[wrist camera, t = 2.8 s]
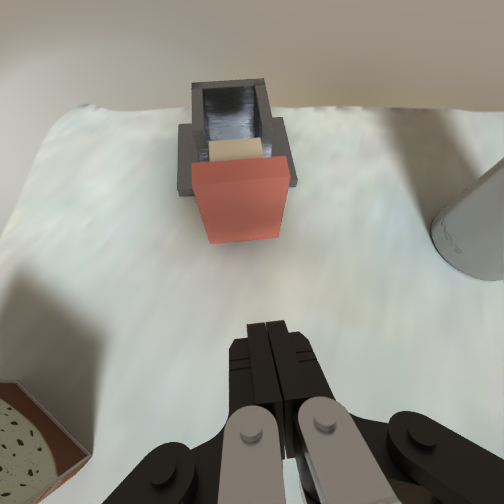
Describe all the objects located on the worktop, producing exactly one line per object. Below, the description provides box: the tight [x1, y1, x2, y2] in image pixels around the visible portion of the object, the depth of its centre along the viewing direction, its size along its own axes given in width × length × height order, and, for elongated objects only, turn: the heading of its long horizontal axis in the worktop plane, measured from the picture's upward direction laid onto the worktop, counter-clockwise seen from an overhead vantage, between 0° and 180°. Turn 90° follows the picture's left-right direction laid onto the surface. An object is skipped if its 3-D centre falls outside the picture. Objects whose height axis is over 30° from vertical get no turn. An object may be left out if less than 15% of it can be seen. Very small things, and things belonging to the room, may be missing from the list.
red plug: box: [191, 138, 291, 244], centre depth 24 cm, size 7×9×9 cm
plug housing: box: [177, 78, 297, 197], centre depth 30 cm, size 14×11×6 cm
